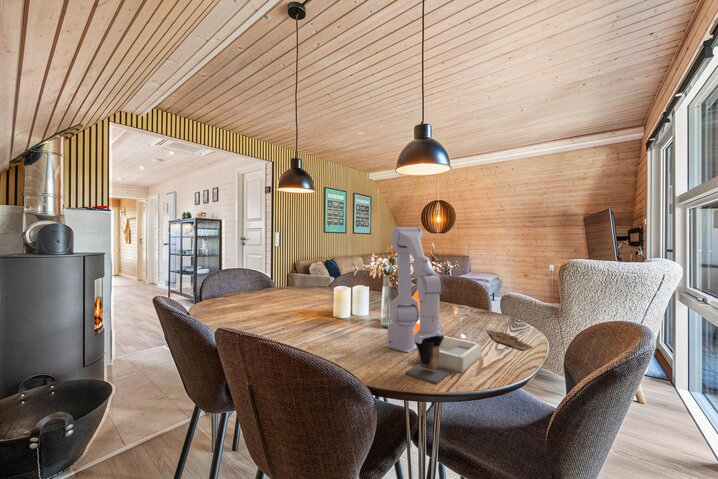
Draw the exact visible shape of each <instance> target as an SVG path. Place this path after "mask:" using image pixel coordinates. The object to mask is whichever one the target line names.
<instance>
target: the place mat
mask: <svg viewBox="0 0 718 479" xmlns="http://www.w3.org/2000/svg"><path fill="white" fill-rule="evenodd" d="M452 373H453V370H451V369H447V368H444V367H440V366H439V367H437V368H436V369H434V370H430V369H426V368H423V367H421V362H419V363H418V364H416V365H414V366H412V367H411V368H410V369H408V370H406V371H405V373H404V374H405V375H408V376H411V377H413V378H417V379H420V380H424V381H426V382H429V383H433V384H435V385H437V384H439V383H440V382H441V381H443V380H444V379H445V378H447V377H448V376H450V375H451V374H452Z"/></svg>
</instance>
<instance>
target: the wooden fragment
mask: <svg viewBox="0 0 718 479" xmlns="http://www.w3.org/2000/svg"><path fill="white" fill-rule="evenodd" d="M485 331H486V332H487V333H488V335H490V336H491V337H492V339H493V341H495V342H498V343H501V344H504V345H507V346H510V347H513V348H516V349H520V350H522V352H524V351H529V349H530V350H531V349H532V347H533V346H532V345H530V344H528V343H524V341H521V340H519V339H518V338H517V337H516V336H513V335H511V334H510V335H509V334H508V333H504V332H501V331H494V330H490V329H489V330H488V329H485Z"/></svg>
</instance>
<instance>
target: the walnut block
mask: <svg viewBox="0 0 718 479" xmlns="http://www.w3.org/2000/svg"><path fill="white" fill-rule="evenodd" d="M420 363H421V367H423V368H426V369H430V370H434V369H436V368H437V367H440V366H439V346H437V345H433V347H432V350H431V355H430V362H429V365H426V364H423V363H422V362H421V361H420Z"/></svg>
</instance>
